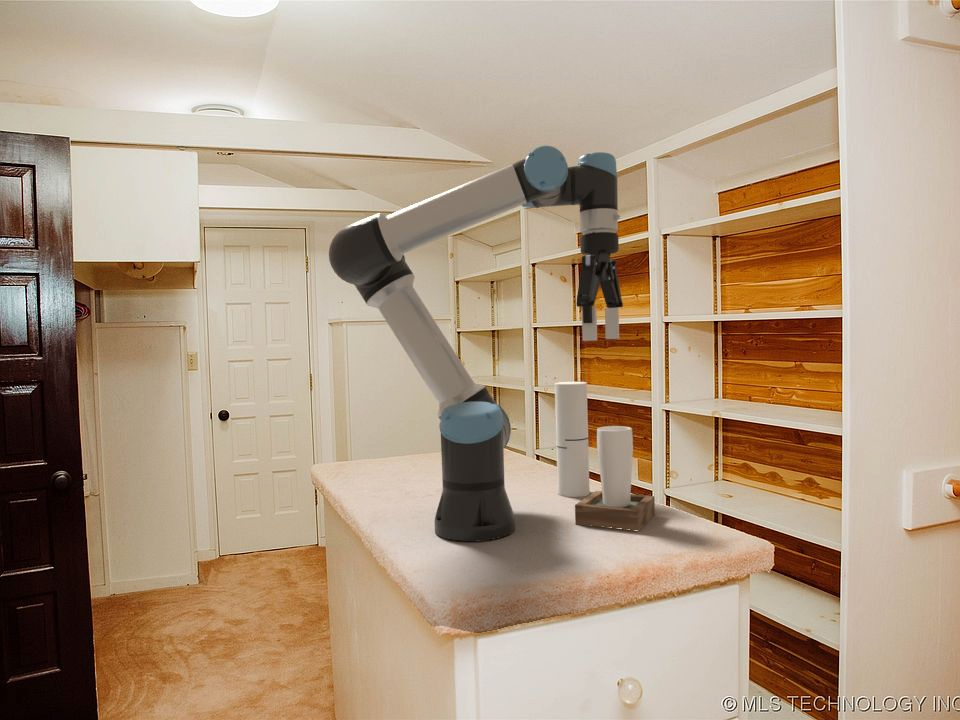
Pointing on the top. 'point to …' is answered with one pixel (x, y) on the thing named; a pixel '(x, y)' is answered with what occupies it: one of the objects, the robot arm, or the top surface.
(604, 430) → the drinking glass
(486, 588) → the top surface
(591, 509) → the wooden tray
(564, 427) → the cylindrical container
